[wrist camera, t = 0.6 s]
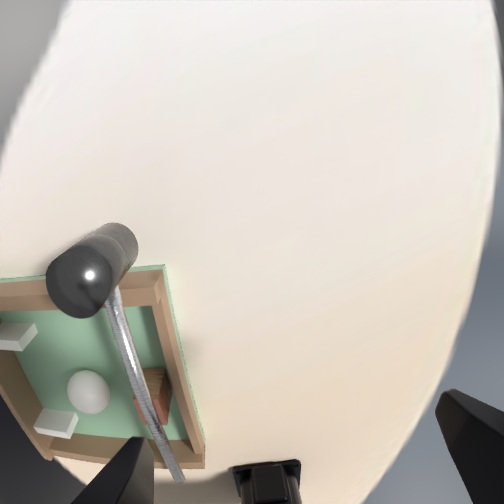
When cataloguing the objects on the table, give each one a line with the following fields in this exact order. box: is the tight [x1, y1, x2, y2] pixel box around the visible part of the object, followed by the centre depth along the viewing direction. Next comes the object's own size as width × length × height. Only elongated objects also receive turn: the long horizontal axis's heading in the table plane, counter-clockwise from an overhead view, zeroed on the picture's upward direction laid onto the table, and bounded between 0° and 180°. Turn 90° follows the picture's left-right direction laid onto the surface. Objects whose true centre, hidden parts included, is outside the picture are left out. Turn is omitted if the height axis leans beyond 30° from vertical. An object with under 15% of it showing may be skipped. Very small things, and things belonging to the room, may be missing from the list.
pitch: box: [0, 264, 205, 469], centre depth 19 cm, size 16×15×4 cm
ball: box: [67, 370, 110, 414], centre depth 18 cm, size 3×3×3 cm
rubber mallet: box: [46, 223, 185, 483], centre depth 16 cm, size 20×3×6 cm, turn 4°
